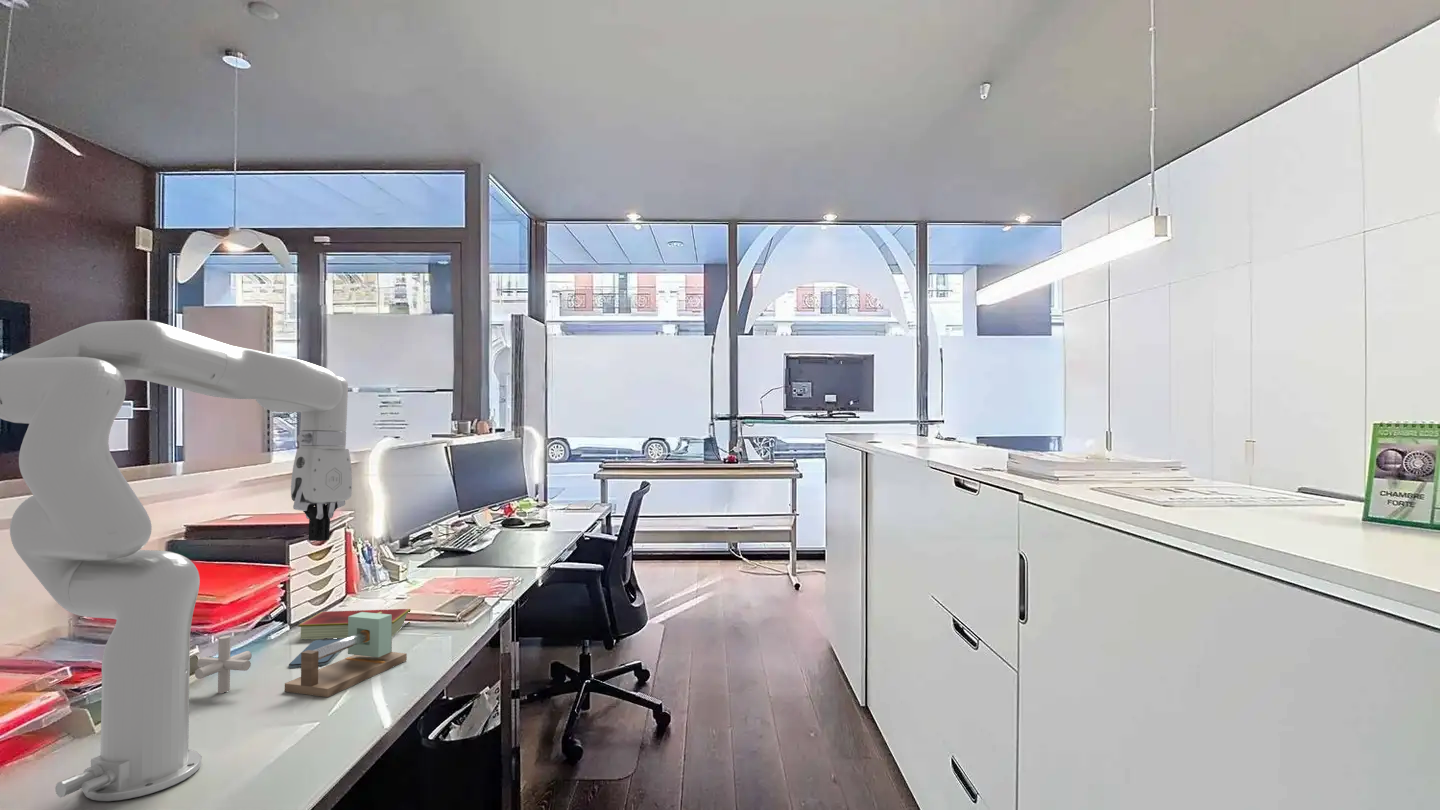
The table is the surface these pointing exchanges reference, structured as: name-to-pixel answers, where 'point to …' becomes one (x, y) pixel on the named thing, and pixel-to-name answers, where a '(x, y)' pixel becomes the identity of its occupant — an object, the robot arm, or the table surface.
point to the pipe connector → (223, 664)
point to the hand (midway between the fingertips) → (318, 540)
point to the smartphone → (314, 645)
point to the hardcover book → (343, 623)
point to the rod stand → (340, 668)
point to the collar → (371, 633)
